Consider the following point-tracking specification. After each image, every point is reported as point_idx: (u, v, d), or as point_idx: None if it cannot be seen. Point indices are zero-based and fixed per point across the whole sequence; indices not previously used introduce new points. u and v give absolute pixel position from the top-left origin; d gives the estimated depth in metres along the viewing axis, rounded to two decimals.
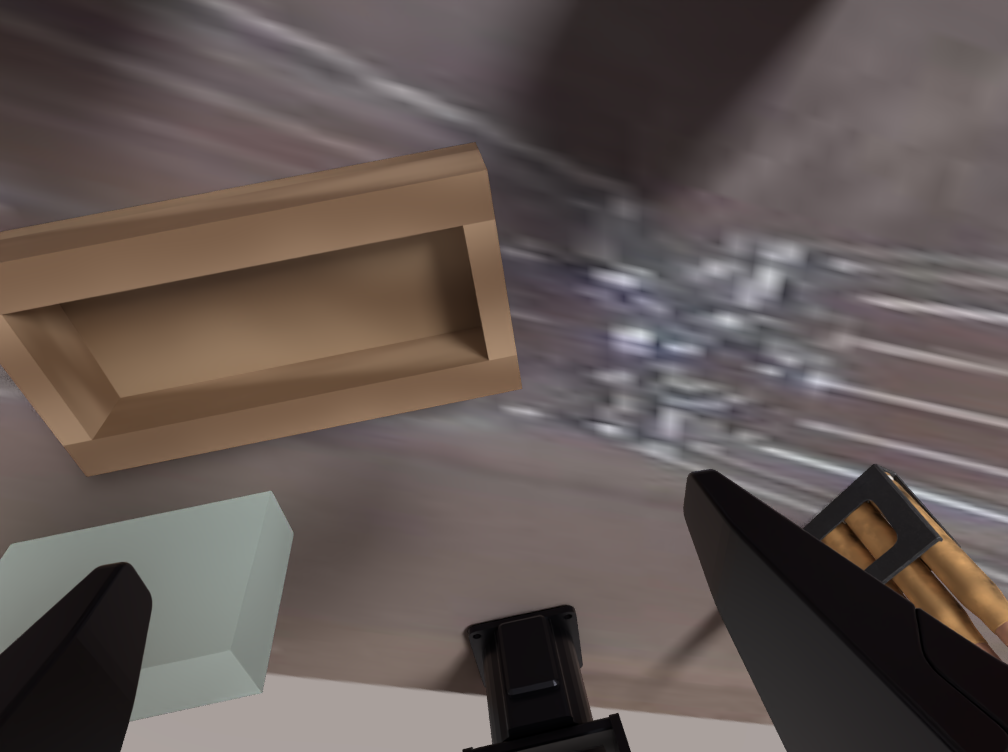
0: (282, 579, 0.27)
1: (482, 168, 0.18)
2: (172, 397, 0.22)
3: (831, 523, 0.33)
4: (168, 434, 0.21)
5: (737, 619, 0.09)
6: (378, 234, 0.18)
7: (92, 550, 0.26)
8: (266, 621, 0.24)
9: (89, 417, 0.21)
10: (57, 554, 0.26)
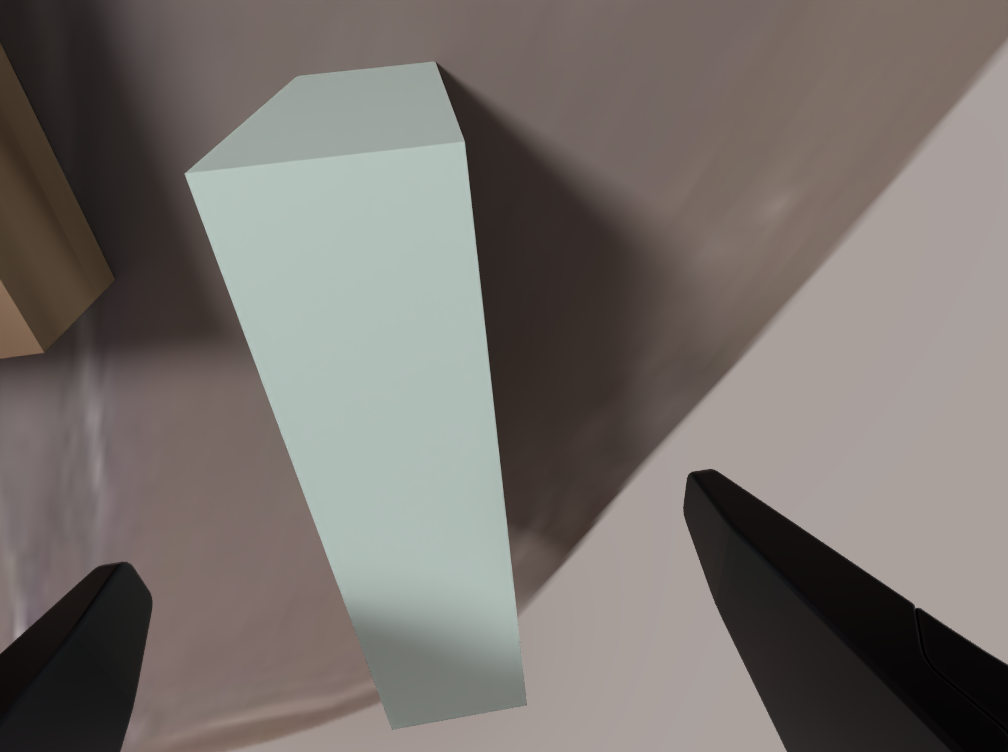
0: (429, 80, 0.11)
1: None
2: None
3: None
4: None
5: (737, 619, 0.09)
6: None
7: None
8: (392, 109, 0.09)
9: None
10: None
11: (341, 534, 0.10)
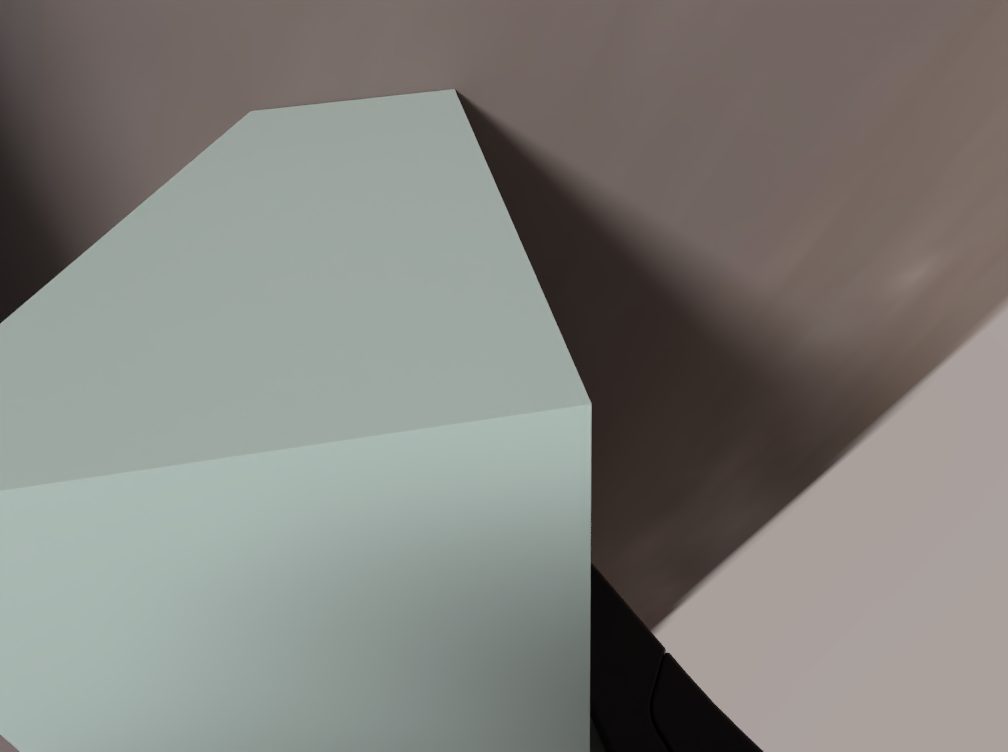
0: (452, 133, 0.06)
1: None
2: None
3: None
4: None
5: None
6: None
7: None
8: (389, 217, 0.04)
9: None
10: None
11: None
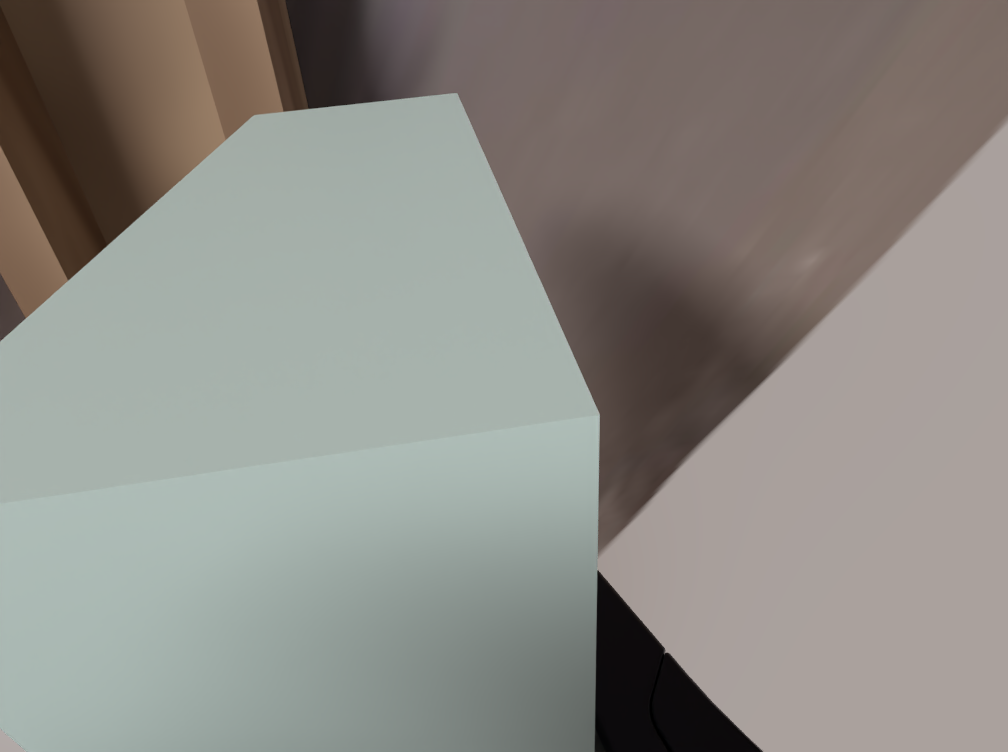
0: (456, 138, 0.06)
1: None
2: None
3: None
4: None
5: None
6: None
7: None
8: (394, 223, 0.04)
9: None
10: None
11: None
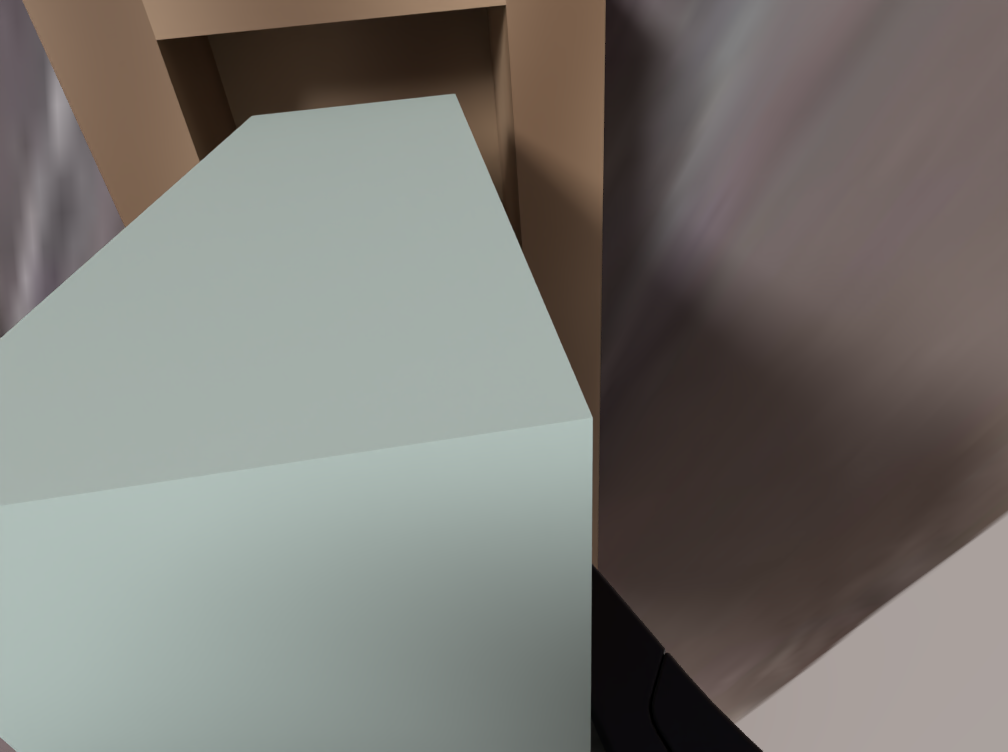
0: (453, 139, 0.06)
1: None
2: None
3: None
4: None
5: None
6: None
7: None
8: (390, 225, 0.04)
9: None
10: None
11: None
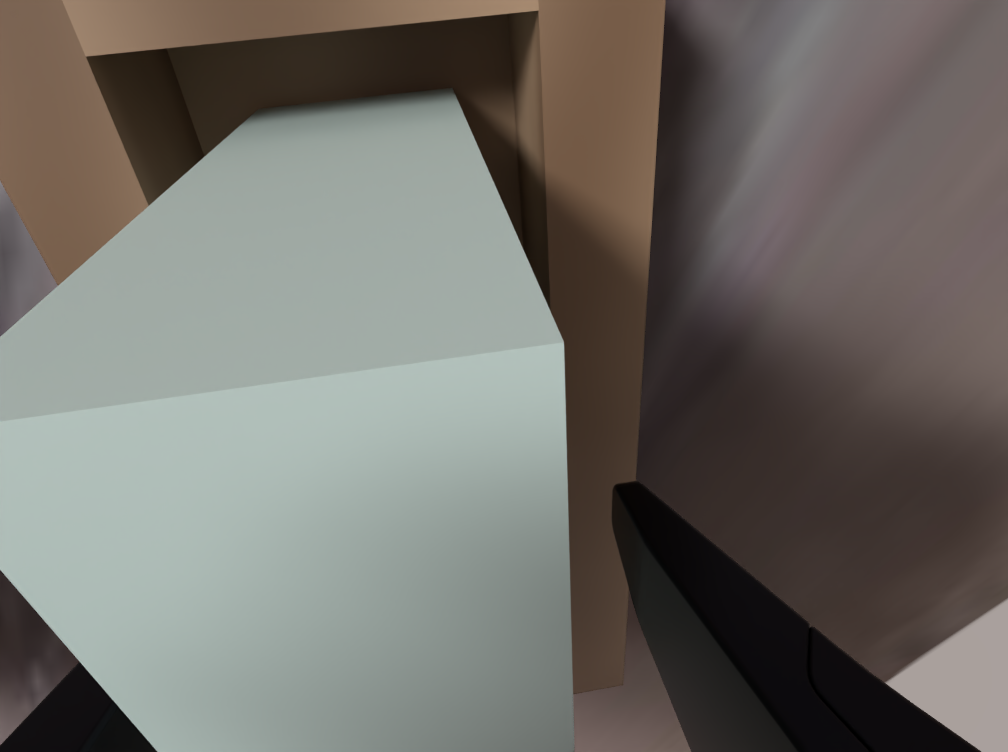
0: (449, 127, 0.07)
1: None
2: None
3: None
4: (580, 611, 0.13)
5: (654, 634, 0.09)
6: None
7: None
8: (392, 200, 0.05)
9: None
10: None
11: None
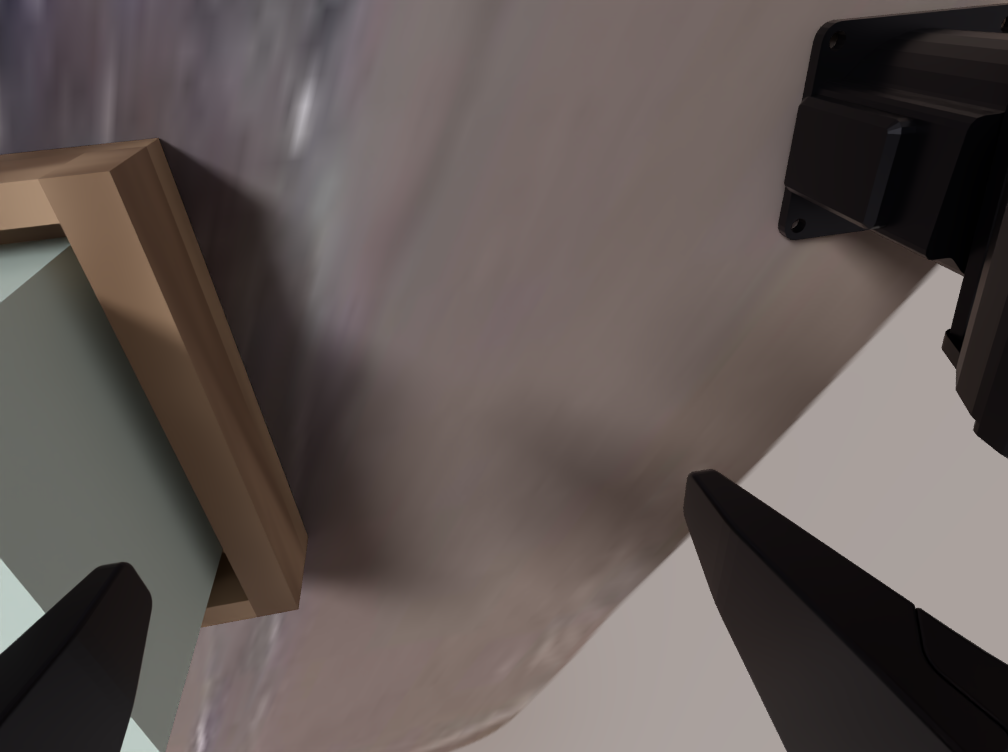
0: (18, 280, 0.14)
1: None
2: None
3: None
4: (238, 552, 0.20)
5: (737, 619, 0.09)
6: None
7: None
8: None
9: (234, 590, 0.22)
10: None
11: None
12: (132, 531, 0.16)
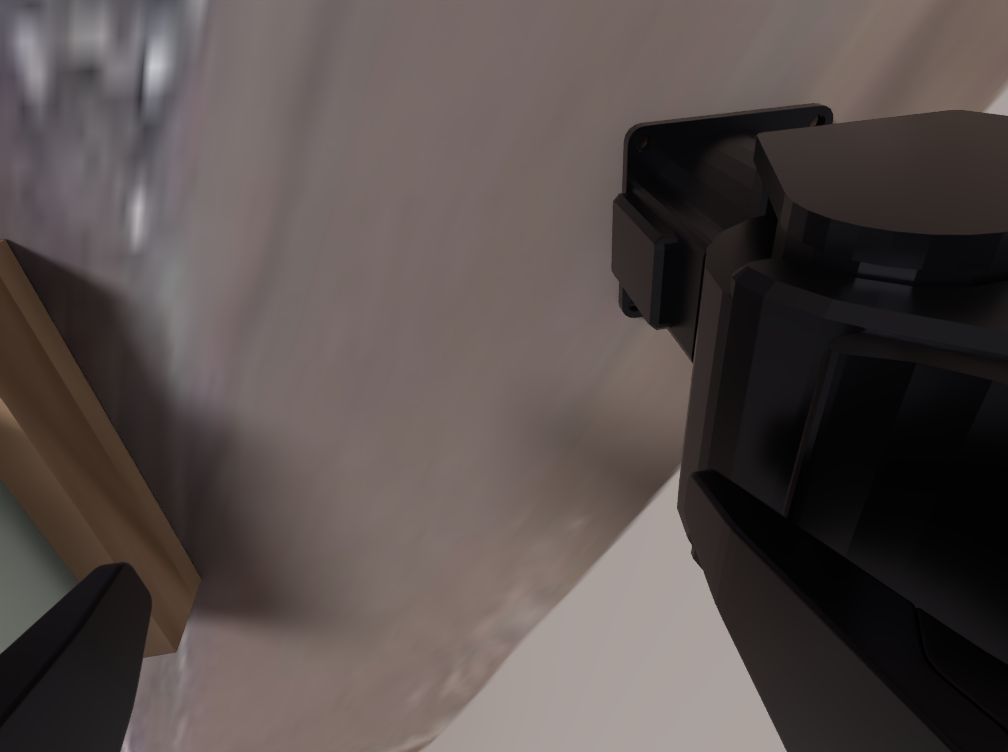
0: None
1: None
2: None
3: None
4: None
5: (737, 619, 0.09)
6: None
7: None
8: None
9: None
10: None
11: None
12: None
